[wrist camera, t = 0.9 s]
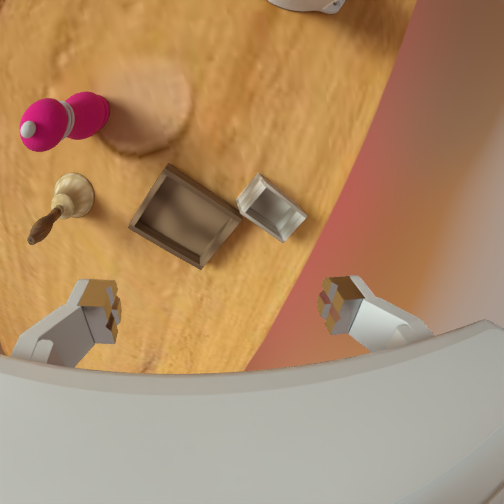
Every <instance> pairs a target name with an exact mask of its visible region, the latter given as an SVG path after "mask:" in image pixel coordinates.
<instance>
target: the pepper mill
mask: <svg viewBox="0 0 504 504" xmlns="http://www.w3.org/2000/svg"><path fill="white" fill-rule="evenodd" d="M109 113H110V110H109V105H108V102H107V101H106V99H105V98H103V97H102V96H100V95H96V94H94V93H92V92H80V93H77V94H74V95H72V96H71V97H70V98H68V99H67V100H66V101H65V102H64V101H57V100H55V99H52V98H45V99H41V100H38V101H37V102H35V103H33V104H32V105H31V106H30V107H29V108H28V109H27V110H26V111H25V113H24V115H23V117H22V119H21V123H20V136H21V139H22V141H23V143H24V145H25V146H26V147H27V148H28V149H30V150H32V151H36V152H43V151H47V150H50V149H51V148H53V147H55V146H56V145H57V144H58V143H59V142H60V141H61V140H63V139H64V138H66V137H68V138H71V139H75V140H80V139H85V138H88V137H90V136H92V135H93V134H95V133H96V132H97V131H98V130H99V129H101V128H102V127H103V126H104V125H105V124H106V122H107V120H108V117H109Z"/></svg>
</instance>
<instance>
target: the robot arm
mask: <svg viewBox="0 0 504 504" xmlns="http://www.w3.org/2000/svg"><path fill="white" fill-rule="evenodd" d="M268 1H269V2H271V3H273V4H274V5H277V6H279V7H282V8H285V9H288V10H293V11H320V12H323V13H327V14H335V13H337V12H338V11H339V9H340V8H341V6H342V5H343V4H344V2H345V1H346V0H268ZM333 3H335V4H336V5H334V4H333ZM322 287H323V289H324V290H323V291H322V292H321V293H320V294H319V297H318V301H317V304H318V305H317V307H318V311H319V314H320V316H321V317H323V318H324V319H326V322H325V325H326V327H327V329H328V331H329V333H330V335H336V334H345V333H349V335H351V336H352V337H353V338H354V339H356V340H357V341H358V342H359V343H361V344H362V345H363V346H364V347H366V348H367V349H368V350H370V351H371V352H372V353H368V354H363V355H359V356H354V357H349V358H344V359H339V360H333V361H326V362H320V363H314V364H307V365H300V366H292V367H284V368H275V369H266V370H256V371H242V372H227V373H205V374H148V373H126V372H111V371H99V370H89V369H80V368H74V367H75V366H76V365H77V364H78V362H79V361H80V360H81V359H82V358H83V357H84V356H85V355H86V354H87V352H88V351H89V350H90V349H91V348H92V347H93V346H94V345H95V343H101V344H115V342H116V338H117V334H118V329H117V325H118V324H119V323H120V321H121V312H122V309H121V302H120V298H119V297H118V296H117V295H116V294H117V291H118V288H117V284H116V282H115V280H97V279H79V280H78V281H77V283H76V285H75V287H74V288H73V290H72V292H71V295H70V297H69V299H68V301H67V303H66V305H62V306H60V307H59V308H57V309H56V310H54V311H53V312H51V313H50V314H49V315H47V316H46V317H44V318H43V319H42V320H40V321H39V322H37V323H36V324H35V325H33V326H32V327H30V328H29V329H28V330H26V331H25V332H24V333H22V334H21V335H20V337H19V339H18V341H17V343H16V345H15V347H14V349H13V352H12V354H11V356H6V355H2V354H0V504H504V328H502V327H500V326H499V325H497V324H495V323H493V322H491V321H489V320H480V321H477V322H475V323H472V324H470V325H467V326H464V327H461V328H458V329H455V330H452V331H449V332H446V333H443V334H440V335H437V336H434V335H433V333H432V332H431V331H430V330H429V328H428V327H427V326H426V324H425V323H424V322H423V321H422V320H421V319H419V318H417V317H415V316H413V315H411V314H410V313H408V312H406V311H404V310H402V309H400V308H398V307H396V306H395V305H393V304H391V303H389V302H387V301H385V300H383V299H381V298H379V297H377V298H376V297H375V295H374V294H373V293H372V292H371V290H370V289H369V288H368V287H367V285H366V284H365V283H364V282H363V280H362V279H361V278H360V277H359V276H357V275H353V276H345V277H329V278H325V279H324V280H323V283H322Z"/></svg>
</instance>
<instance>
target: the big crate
mask: <svg viewBox="0 0 504 504" xmlns="http://www.w3.org/2000/svg"><path fill="white" fill-rule="evenodd" d="M241 221H242V217H241V214H240V211H239V210H237V209H236V208H234V207H233V206H231V205H230V204H228V203H227V202H226V201H224V200H223V199H221V198H220V197H218V196H217V195H215V194H214V193H212V192H211V191H209V190H208V189H206V188H205V187H203V186H202V185H200V184H199V183H197V182H196V181H194V180H193V179H191V178H190V177H188V176H187V175H185V174H184V173H182V172H181V171H179V170H178V169H176V168H175V167H173V166H172V165H170V164H169V163H168V164H167V166H166V167H165V169H164V170H163V171H162V173H161V174H160V176H159V177H158V179H157V180H156V182H155V183H154V185H153V186H152V188H151V190H150V191H149V193H148V194H147V196H146V197H145V199H144V201H143V202H142V204H141V205H140V207H139V209H138V210H137V212H136V213H135V215H134V217H133V218H132V220H131V223H130V225H129V227H128V228H129V229H131V230H132V231H134V232H136V233H137V234H139V235H141V236H142V237H144V238H146V239H147V240H149V241H151V242H153V243H154V244H156V245H158V246H159V247H161V248H163V249H165V250H166V251H168V252H170V253H172V254H173V255H175V256H177V257H179V258H180V259H182V260H184V261H186V262H188V263H189V264H191V265H193V266H195V267H196V268H198V269H200V270H201V269H202V268H203V267H204V266H205V265H206V263H207V262H208V261H209V260H210V258H211V257H212V256H213V255H214V253H215V252H216V251H217V250H218V249H219V247H220V246H221V245H222V244H223V243H224V241H225V240H226V239H227V238H228V236H229V235H230V234H231V233H232V232H233V230H234V229H235V228H236V227H237V226H238V224H239V223H240V222H241Z"/></svg>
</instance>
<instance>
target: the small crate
mask: <svg viewBox="0 0 504 504" xmlns="http://www.w3.org/2000/svg"><path fill="white" fill-rule="evenodd" d="M236 203H237V206H238V208H239V211H240V214H242V215H243V216H245V217H246V218H247V219H249V220H250V221H252V222H253V223H255V224H256V225H258V226H259V227H260V228H262V229H263V230H265V231H266V232H268V233H269V234H271V235H272V236H273V237H275V238H276V239H278V240H279V241H281V242H282V243H284V242H285V241H286V240H287V239H288V237H289V236H290V235H291V234H292V233H293V232H294V231H295V230H296V229H297V228H298V226H299V225H300V224H301V223H302V222H303V221H304V220H305V219H306V218H307V215H306V213H305V212H304V211H303V210H302V209H301V207H300V206H299V205H298V204H297V203H296V202H295V201H294V200H293V199H291V198H290V197H289V196H288V195H286V194H285V193H284V192H283V191H281V190H280V189H279V188H278V187H276V186H275V185H274V184H273V183H271V182H270V181H269V180H267V179H266V178H265V177H264V176H262V175H261V174H260V173H257V175H256V176H255V177H254V178H253V179H252V181H251V182H250V183H249V184H248V185H247V187H246V188H245V189H244V190H243V191H242V193H241V194H240V195H239V196H238V198H237V199H236Z"/></svg>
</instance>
